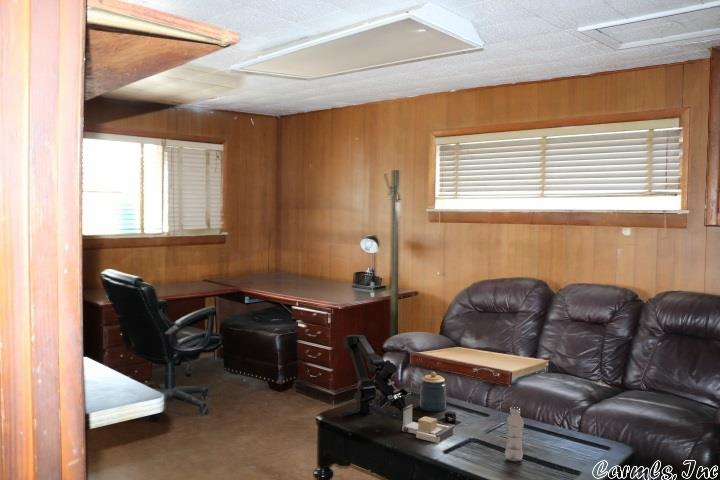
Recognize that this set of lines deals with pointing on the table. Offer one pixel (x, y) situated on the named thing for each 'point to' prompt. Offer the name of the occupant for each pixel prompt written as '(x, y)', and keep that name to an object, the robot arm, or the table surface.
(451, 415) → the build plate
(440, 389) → the canister
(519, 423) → the plastic bottle
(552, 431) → the table surface
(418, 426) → the trolley
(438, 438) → the bay
